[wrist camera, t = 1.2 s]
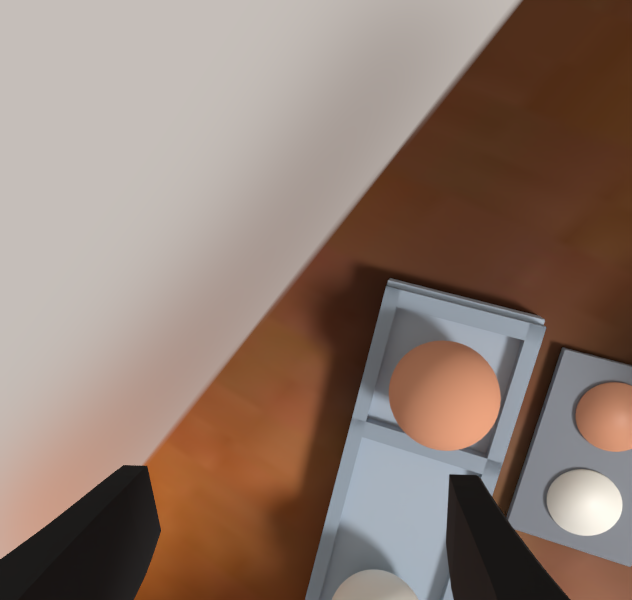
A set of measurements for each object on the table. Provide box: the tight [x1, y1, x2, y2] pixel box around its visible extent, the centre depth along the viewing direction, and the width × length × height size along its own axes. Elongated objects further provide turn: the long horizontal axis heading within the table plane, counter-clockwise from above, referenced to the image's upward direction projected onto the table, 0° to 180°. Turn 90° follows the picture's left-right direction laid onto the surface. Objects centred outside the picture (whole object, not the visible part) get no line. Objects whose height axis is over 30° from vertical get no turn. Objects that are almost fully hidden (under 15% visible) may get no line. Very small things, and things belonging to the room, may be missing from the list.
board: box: [305, 278, 546, 600], centre depth 22 cm, size 6×20×2 cm, turn 167°
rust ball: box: [389, 340, 501, 451], centre depth 19 cm, size 4×4×4 cm
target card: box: [506, 347, 632, 567], centre depth 21 cm, size 5×8×1 cm, turn 167°
